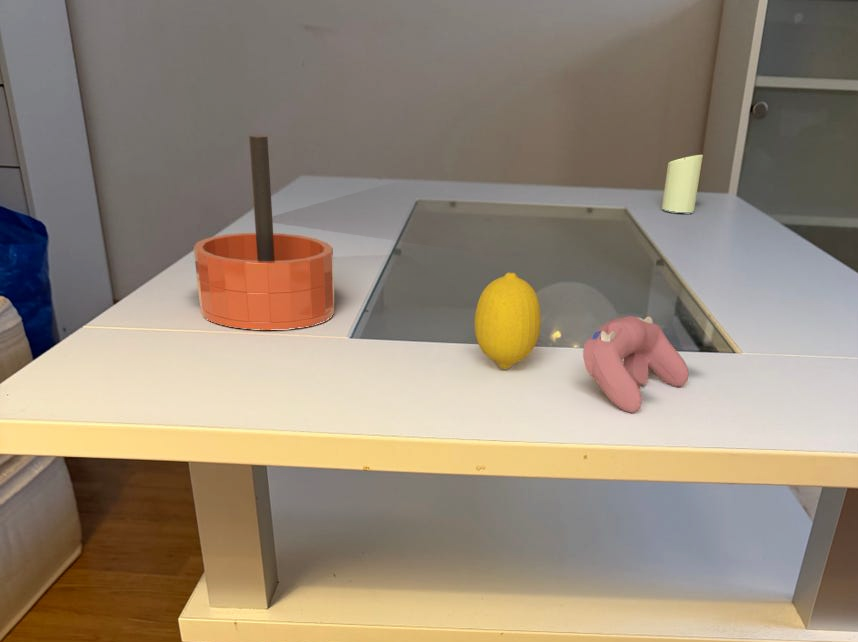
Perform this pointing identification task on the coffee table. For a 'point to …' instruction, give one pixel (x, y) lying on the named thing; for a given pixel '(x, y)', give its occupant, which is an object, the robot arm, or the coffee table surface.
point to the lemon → (507, 320)
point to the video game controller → (631, 359)
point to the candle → (682, 184)
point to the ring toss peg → (262, 197)
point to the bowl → (265, 281)
